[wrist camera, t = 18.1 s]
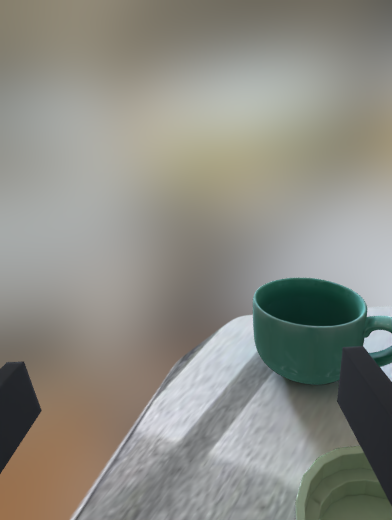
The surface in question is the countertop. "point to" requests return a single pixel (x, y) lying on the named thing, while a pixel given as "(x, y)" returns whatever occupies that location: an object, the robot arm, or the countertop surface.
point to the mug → (312, 328)
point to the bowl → (342, 489)
